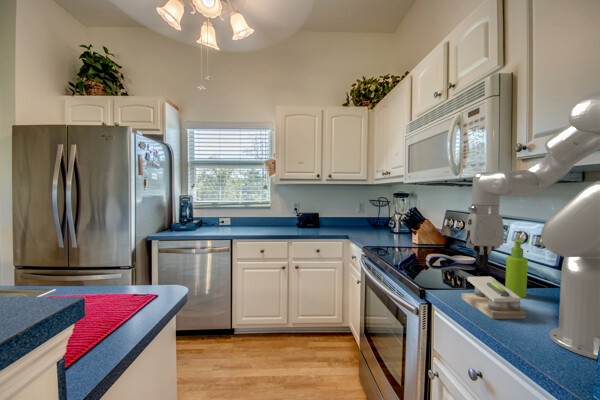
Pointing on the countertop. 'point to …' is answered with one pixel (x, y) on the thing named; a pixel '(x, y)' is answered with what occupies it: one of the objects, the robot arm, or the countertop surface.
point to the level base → (491, 313)
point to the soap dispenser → (516, 270)
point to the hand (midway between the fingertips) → (481, 265)
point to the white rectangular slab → (494, 289)
